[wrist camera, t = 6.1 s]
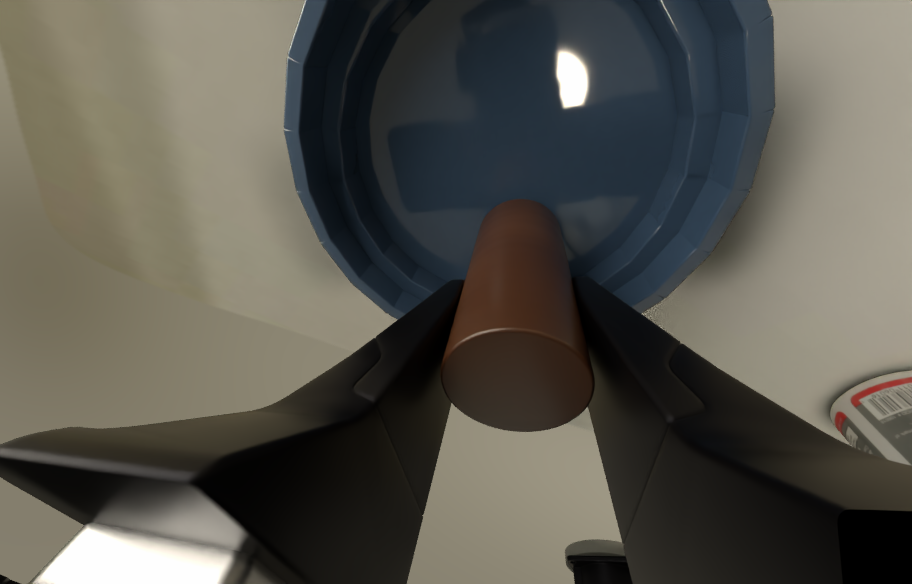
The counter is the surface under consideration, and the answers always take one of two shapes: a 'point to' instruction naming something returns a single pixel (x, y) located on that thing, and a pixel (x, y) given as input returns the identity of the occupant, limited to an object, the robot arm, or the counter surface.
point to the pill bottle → (878, 416)
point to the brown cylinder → (518, 327)
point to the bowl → (526, 132)
